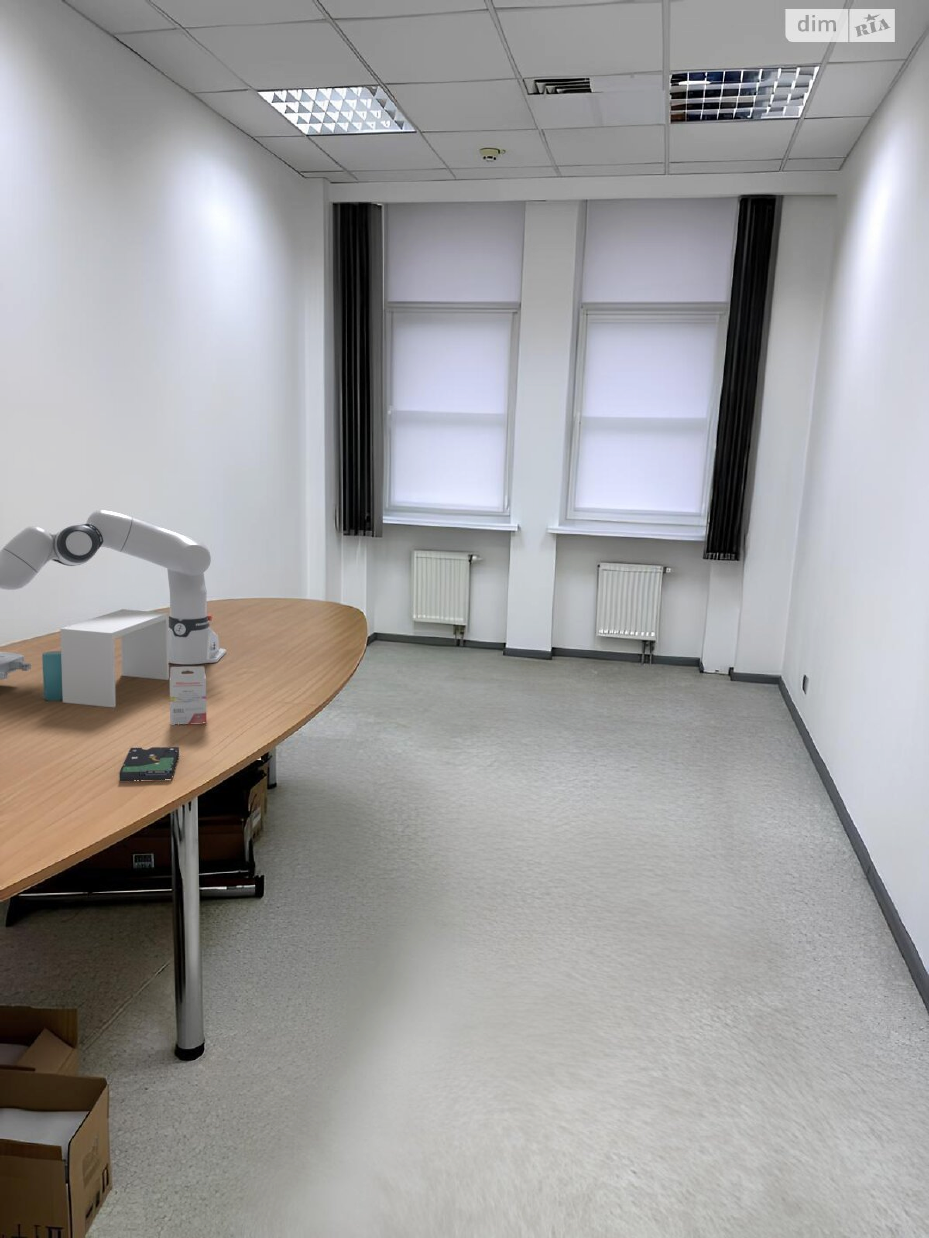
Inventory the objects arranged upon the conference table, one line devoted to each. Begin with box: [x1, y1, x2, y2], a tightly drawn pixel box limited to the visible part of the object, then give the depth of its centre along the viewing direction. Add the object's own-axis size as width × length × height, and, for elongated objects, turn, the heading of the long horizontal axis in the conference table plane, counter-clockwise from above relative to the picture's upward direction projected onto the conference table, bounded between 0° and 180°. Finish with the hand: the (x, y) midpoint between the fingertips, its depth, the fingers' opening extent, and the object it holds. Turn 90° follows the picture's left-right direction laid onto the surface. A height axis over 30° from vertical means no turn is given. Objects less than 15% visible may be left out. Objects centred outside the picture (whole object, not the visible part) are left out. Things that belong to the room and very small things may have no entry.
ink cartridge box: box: [169, 665, 207, 726], centre depth 211 cm, size 9×5×15 cm, turn 105°
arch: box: [60, 608, 170, 708], centre depth 234 cm, size 30×14×20 cm, turn 172°
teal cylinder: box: [41, 650, 63, 702], centre depth 225 cm, size 6×6×12 cm
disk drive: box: [118, 746, 180, 782], centre depth 181 cm, size 10×3×15 cm
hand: (17, 671), depth 226 cm, fingers open, 8 cm apart
